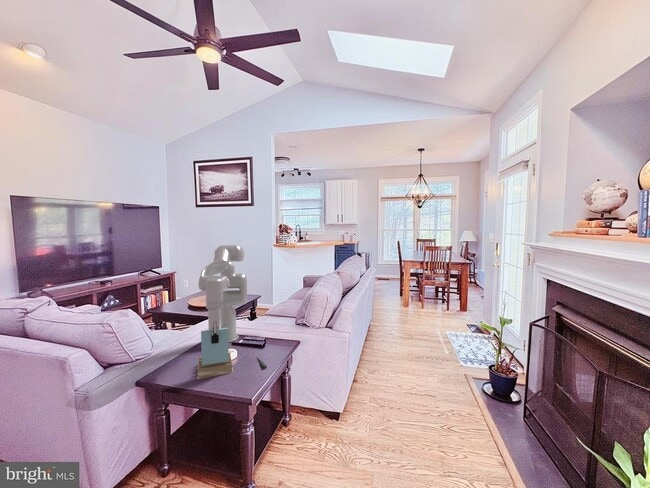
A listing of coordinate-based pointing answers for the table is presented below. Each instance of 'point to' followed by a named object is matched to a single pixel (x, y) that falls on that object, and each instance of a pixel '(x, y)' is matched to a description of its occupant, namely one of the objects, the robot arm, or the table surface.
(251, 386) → the table surface
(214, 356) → the tall sheet
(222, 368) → the rack
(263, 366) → the phone
